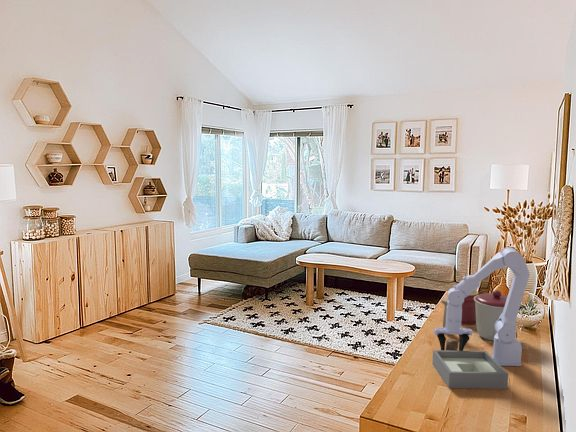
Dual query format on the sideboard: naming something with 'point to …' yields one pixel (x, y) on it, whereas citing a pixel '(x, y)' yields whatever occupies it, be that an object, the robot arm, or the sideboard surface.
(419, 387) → the sideboard surface
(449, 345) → the peg
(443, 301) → the handle
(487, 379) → the socket box
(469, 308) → the canister
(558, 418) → the sideboard surface
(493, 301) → the canister
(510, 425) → the sideboard surface
